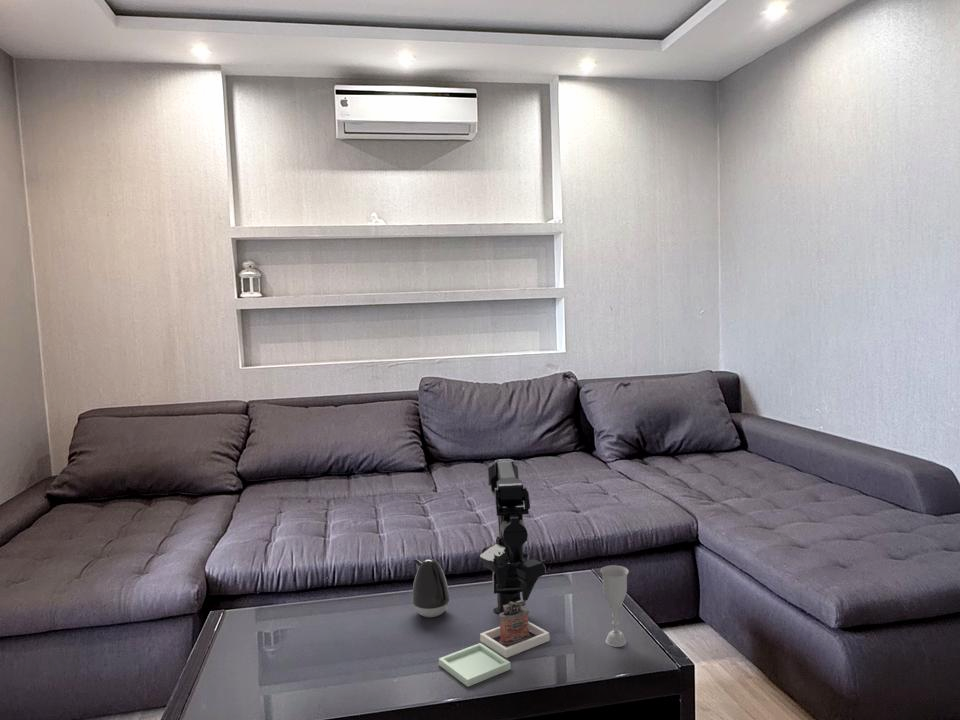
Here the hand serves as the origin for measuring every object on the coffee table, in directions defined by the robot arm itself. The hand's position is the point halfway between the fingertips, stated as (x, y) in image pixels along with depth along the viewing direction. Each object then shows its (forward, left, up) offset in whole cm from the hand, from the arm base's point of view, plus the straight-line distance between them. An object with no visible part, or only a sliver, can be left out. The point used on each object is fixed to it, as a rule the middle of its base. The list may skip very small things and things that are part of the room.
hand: (513, 594), depth 175 cm
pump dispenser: (-27, -8, -12) cm, 31 cm away
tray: (+4, -15, -12) cm, 20 cm away
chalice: (+16, +19, -12) cm, 28 cm away
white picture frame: (0, 0, -12) cm, 12 cm away
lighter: (0, 0, -12) cm, 12 cm away
